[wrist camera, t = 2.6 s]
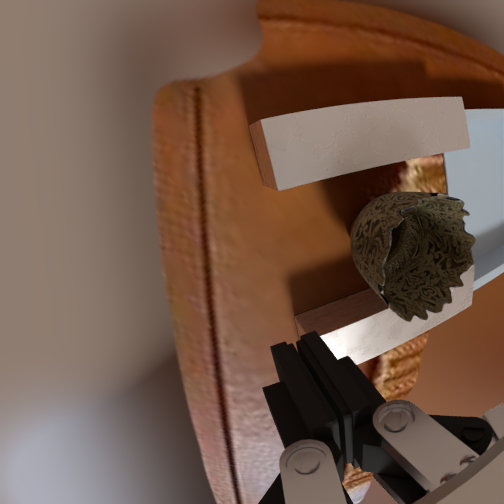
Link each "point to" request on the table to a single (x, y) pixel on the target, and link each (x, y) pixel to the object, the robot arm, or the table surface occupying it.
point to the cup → (412, 250)
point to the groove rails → (351, 160)
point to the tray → (481, 189)
